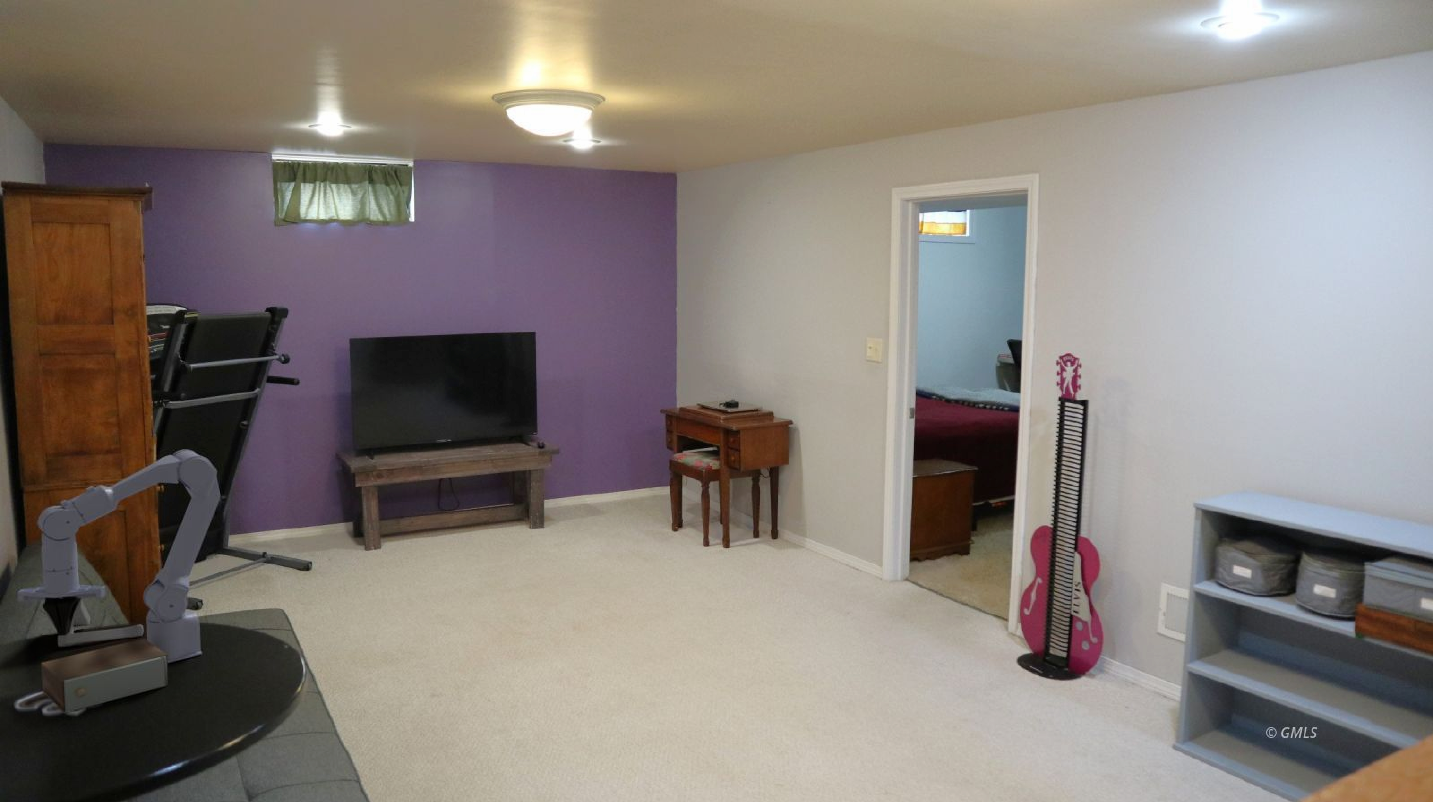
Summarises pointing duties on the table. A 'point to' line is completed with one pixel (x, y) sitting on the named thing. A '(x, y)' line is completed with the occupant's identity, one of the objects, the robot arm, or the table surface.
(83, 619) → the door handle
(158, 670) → the cabinet door
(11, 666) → the table surface
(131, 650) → the walnut cabinet
